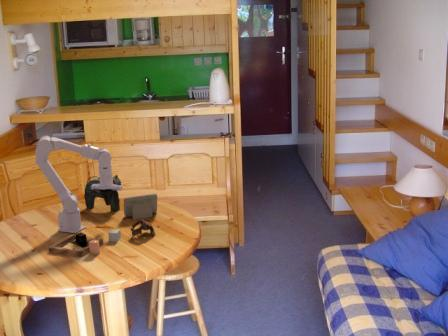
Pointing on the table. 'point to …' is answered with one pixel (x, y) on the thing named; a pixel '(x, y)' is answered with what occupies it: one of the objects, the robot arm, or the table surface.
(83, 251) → the bay
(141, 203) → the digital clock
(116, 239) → the light gray block
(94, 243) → the pinkish-brown rounded block
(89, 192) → the power drill
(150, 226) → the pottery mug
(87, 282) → the table surface
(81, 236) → the black boxy piece
